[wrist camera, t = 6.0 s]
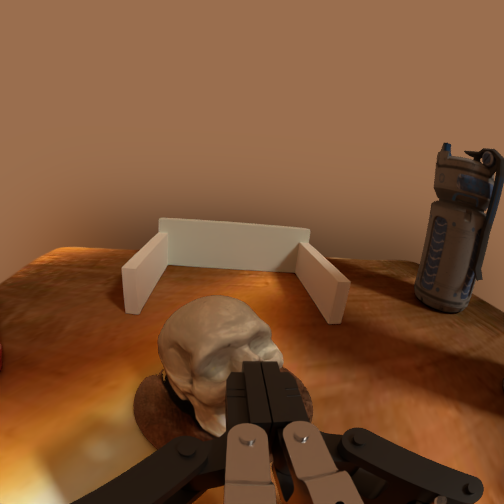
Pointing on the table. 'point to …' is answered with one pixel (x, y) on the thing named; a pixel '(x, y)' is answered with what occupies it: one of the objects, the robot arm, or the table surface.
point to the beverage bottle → (458, 227)
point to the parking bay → (235, 259)
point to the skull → (203, 369)
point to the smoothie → (0, 357)
